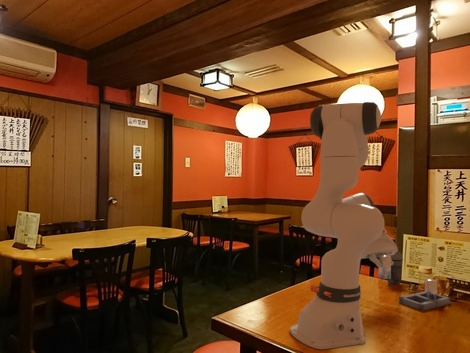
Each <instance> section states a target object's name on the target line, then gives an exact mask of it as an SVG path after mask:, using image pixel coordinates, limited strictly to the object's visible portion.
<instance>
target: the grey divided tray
mask: <svg viewBox="0 0 470 353" xmlns="http://www.w3.org/2000/svg"><path fill="white" fill-rule="evenodd" d="M398 303H399V304H401V305H404V306H407V307H409V308H413V309H416V310H417V311H421V312H423V311H427V310H431V309H435V308H439V307H442V306H446V305H450V304H451V298H450V297H448V296H444V295H440V294H438V293H437V299H435V300H432V299H429V298H426V297H425V290H424V291H419V292H415V293H412V294H407V295H403V296H401V295H400V296H399V297H398Z"/></svg>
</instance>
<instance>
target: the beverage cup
mask: <svg viewBox="0 0 470 353" xmlns="http://www.w3.org/2000/svg"><path fill="white" fill-rule="evenodd" d="M403 259H404V258H403V255H402V253H401V252H400V251H399V250H398V251H397V252H396V253H395V254H394V255H391V260H392V261H393V265H392V266H391V278H390V279H386V281H387V285H388V286H396V285H400V283H401V273H402V265H403Z"/></svg>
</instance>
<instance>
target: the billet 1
mask: <svg viewBox="0 0 470 353" xmlns="http://www.w3.org/2000/svg"><path fill="white" fill-rule="evenodd" d="M378 260H379V261H382V263H383V266H382V267H378V278H379V279H383V280H387V279H390V278H391V256H389V255H379V257H378Z"/></svg>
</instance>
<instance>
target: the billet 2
mask: <svg viewBox="0 0 470 353" xmlns="http://www.w3.org/2000/svg"><path fill="white" fill-rule="evenodd" d="M424 291H425V297H426V298H429V299H432V300H435V299H437V294H438V280H437V279H434V278H429V277H428V278H424Z"/></svg>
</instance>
